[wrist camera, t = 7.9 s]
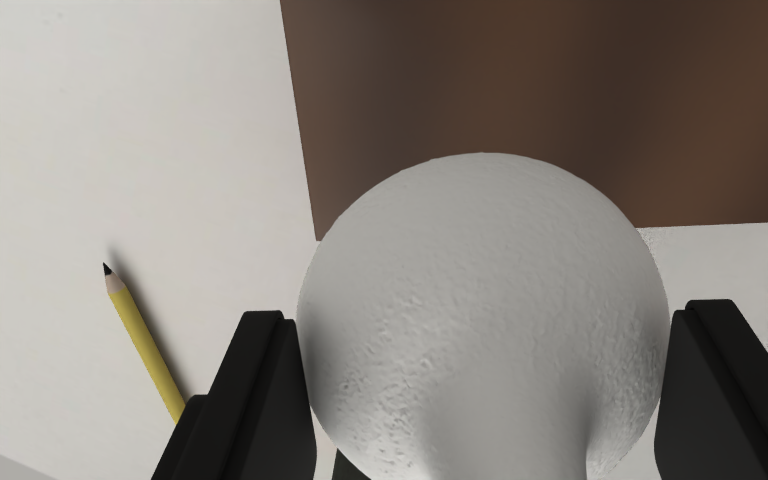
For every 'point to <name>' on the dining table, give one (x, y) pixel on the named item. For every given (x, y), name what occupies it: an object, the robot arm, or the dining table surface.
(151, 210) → the dining table surface
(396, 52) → the shelf
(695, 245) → the dining table surface
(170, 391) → the pencil
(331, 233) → the garlic bulb
